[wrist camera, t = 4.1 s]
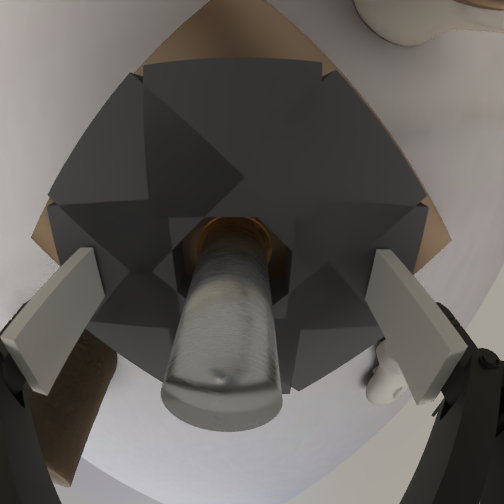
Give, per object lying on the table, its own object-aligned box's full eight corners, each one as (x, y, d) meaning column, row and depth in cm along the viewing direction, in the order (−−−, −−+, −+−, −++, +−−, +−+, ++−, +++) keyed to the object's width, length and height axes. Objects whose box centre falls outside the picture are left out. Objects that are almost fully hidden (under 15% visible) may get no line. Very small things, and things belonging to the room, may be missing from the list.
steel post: (235, 189, 16) (213, 331, 6) (282, 236, 17) (322, 401, 7) (188, 235, 17) (125, 395, 7) (236, 276, 18) (226, 445, 8)
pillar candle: (106, 312, 22) (27, 468, 8) (126, 384, 26) (85, 511, 13) (24, 294, 21) (-62, 405, 8) (52, 364, 26) (-1, 467, 12)
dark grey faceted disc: (235, -5, 9) (233, -22, 7) (446, 253, 15) (463, 270, 13) (34, 251, 15) (16, 266, 13) (237, 401, 21) (237, 422, 19)
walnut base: (239, -8, 12) (238, -20, 10) (437, 229, 19) (451, 240, 17) (45, 226, 18) (30, 237, 17) (239, 378, 25) (238, 395, 23)
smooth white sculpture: (390, 373, 28) (352, 391, 26) (411, 319, 24) (371, 337, 23) (412, 399, 24) (374, 421, 23) (441, 346, 20) (401, 370, 19)
